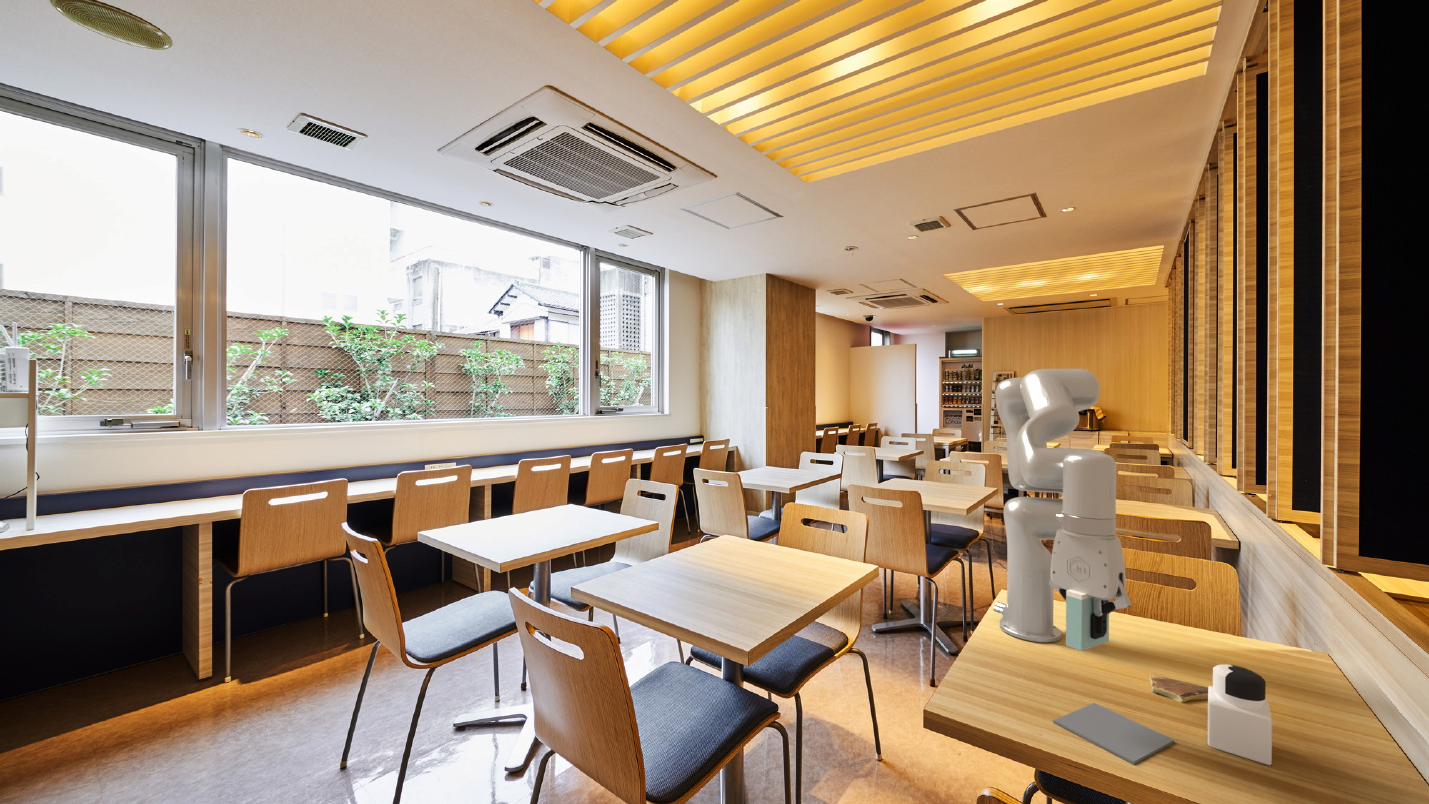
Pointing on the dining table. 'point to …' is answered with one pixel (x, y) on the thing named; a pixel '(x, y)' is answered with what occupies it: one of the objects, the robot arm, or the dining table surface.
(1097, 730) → the mat
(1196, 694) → the shard
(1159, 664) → the dining table surface
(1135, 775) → the dining table surface
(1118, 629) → the dining table surface
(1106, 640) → the slab
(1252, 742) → the medicine bottle
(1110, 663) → the dining table surface
